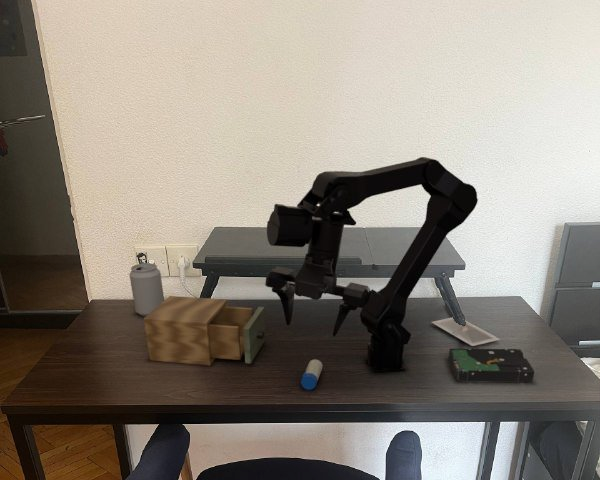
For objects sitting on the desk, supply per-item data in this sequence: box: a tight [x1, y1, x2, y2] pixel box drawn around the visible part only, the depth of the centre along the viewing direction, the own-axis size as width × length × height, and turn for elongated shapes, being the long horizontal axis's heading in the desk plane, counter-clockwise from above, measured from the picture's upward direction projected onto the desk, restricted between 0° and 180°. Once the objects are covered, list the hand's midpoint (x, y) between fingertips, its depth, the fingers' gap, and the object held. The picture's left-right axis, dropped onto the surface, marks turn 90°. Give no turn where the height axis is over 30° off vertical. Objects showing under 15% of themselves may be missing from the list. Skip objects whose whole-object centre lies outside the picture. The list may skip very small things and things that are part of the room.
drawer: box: [208, 306, 267, 365], centre depth 124 cm, size 14×12×8 cm
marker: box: [300, 359, 324, 391], centre depth 115 cm, size 8×3×3 cm
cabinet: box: [143, 295, 228, 366], centre depth 126 cm, size 14×14×10 cm
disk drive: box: [448, 347, 535, 383], centre depth 117 cm, size 10×3×15 cm
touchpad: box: [430, 316, 501, 347], centre depth 133 cm, size 8×15×2 cm, turn 25°
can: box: [128, 262, 165, 317], centre depth 145 cm, size 8×8×12 cm
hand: (311, 330), depth 110 cm, fingers open, 9 cm apart
